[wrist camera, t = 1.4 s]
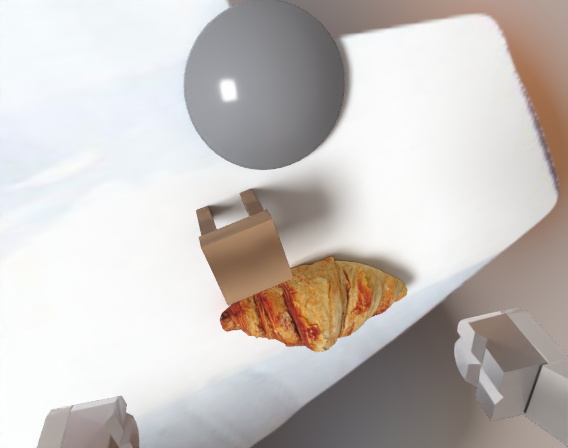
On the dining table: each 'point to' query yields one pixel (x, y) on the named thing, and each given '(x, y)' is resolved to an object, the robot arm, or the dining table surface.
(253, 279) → the stool
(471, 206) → the dining table surface
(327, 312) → the croissant
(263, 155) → the grey flat disc
